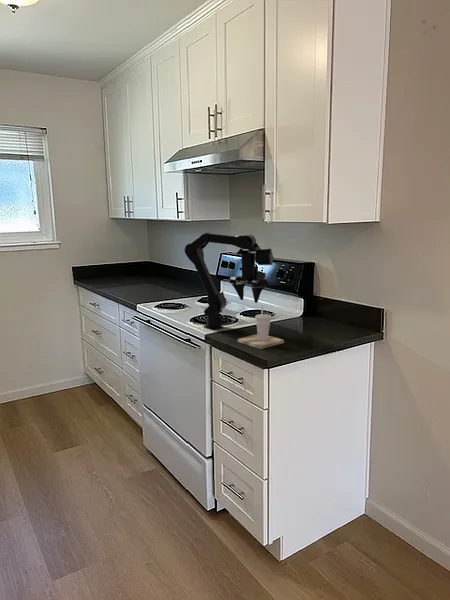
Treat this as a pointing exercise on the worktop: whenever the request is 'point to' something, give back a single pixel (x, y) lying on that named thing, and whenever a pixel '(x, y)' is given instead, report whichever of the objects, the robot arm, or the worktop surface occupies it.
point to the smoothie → (263, 325)
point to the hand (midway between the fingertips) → (249, 301)
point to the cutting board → (256, 343)
